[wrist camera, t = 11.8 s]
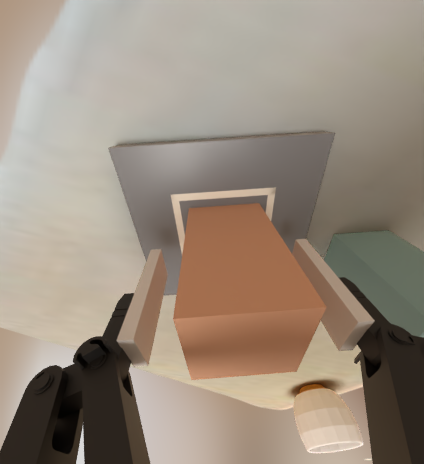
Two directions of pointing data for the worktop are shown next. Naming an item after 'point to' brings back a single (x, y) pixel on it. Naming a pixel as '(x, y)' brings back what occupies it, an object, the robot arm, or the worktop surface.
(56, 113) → the worktop surface
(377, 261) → the teal block
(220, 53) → the worktop surface
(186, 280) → the terracotta block
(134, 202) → the base plate
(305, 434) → the cup
